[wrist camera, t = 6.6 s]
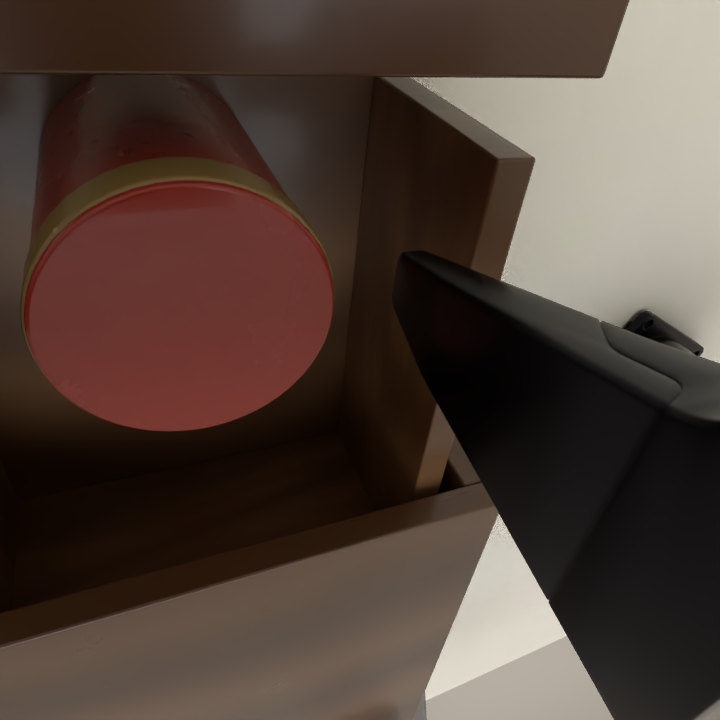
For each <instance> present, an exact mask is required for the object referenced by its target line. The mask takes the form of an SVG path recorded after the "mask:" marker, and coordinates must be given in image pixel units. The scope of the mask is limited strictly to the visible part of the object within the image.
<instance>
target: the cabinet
mask: <svg viewBox="0 0 720 720" xmlns="http://www.w3.org/2000/svg"><path fill="white" fill-rule="evenodd" d="M498 514H499V513H498V511H497V509H496V507H495V505H494V504H493V502H492V500H491V498H490V497H489V495H488V493H487V491H486V489H485V488H484V486H483V484H482V482H481V481H480V479H479V477H478V475H477V473H476V472H475V470H474V468H473V466H472V464H471V463H470V461H469V459H468V457H467V456H466V454H465V452H464V450H463V448H462V447H461V445H460V443H459V441H458V439H457V438H456V436H454V439H453V443H452V446H451V450H450V453H449V456H448V460H447V463H446V467H445V470H444V473H443V477H442V480H441V484H440V487H439V491H438V494H436V495H433V496H429V497H425V498H422V499H418V500H414V501H411V502H407V503H403V504H399V505H396V506H392V507H388V508H385V509H381V510H377V511H374V512H370V513H366V514H363V515H359V516H355V517H352V518H348V519H344V520H341V521H337V522H333V523H329V524H326V525H322V526H318V527H315V528H311V529H307V530H304V531H300V532H296V533H293V534H289V535H285V536H282V537H278V538H274V539H271V540H267V541H263V542H260V543H256V544H252V545H248V546H245V547H241V548H237V549H234V550H230V551H226V552H223V553H219V554H215V555H212V556H208V557H204V558H201V559H197V560H193V561H190V562H186V563H182V564H178V565H175V566H171V567H167V568H164V569H160V570H156V571H153V572H149V573H145V574H142V575H138V576H134V577H131V578H127V579H123V580H120V581H116V582H112V583H109V584H105V585H101V586H97V587H94V588H90V589H86V590H83V591H79V592H75V593H72V594H68V595H64V596H61V597H57V598H53V599H50V600H46V601H42V602H39V603H35V604H31V605H27V606H24V607H20V608H16V609H13V610H9V611H5V612H2V613H0V720H413V718H414V716H415V713H416V711H417V708H418V706H419V704H420V701H421V699H422V696H423V694H424V692H425V689H426V687H427V684H428V682H429V680H430V677H431V675H432V672H433V670H434V668H435V665H436V663H437V660H438V658H439V656H440V653H441V651H442V648H443V646H444V644H445V641H446V639H447V636H448V634H449V632H450V629H451V627H452V624H453V622H454V620H455V617H456V615H457V612H458V610H459V608H460V605H461V603H462V600H463V598H464V595H465V593H466V591H467V588H468V586H469V583H470V581H471V579H472V576H473V574H474V571H475V569H476V567H477V564H478V562H479V559H480V557H481V555H482V552H483V550H484V547H485V545H486V543H487V540H488V538H489V535H490V533H491V531H492V528H493V526H494V523H495V521H496V519H497V516H498Z"/></svg>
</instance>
